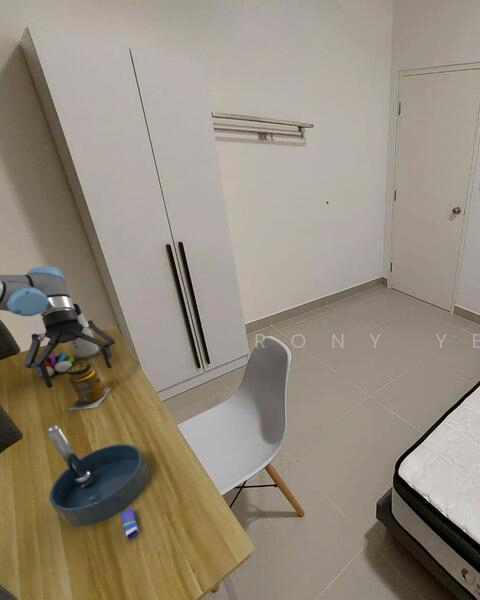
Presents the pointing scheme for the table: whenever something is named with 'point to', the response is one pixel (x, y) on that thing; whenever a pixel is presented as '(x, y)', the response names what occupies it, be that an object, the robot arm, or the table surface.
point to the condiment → (86, 386)
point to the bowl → (101, 485)
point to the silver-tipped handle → (70, 457)
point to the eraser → (129, 523)
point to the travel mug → (80, 345)
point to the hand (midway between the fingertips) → (81, 376)
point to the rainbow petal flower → (58, 362)
